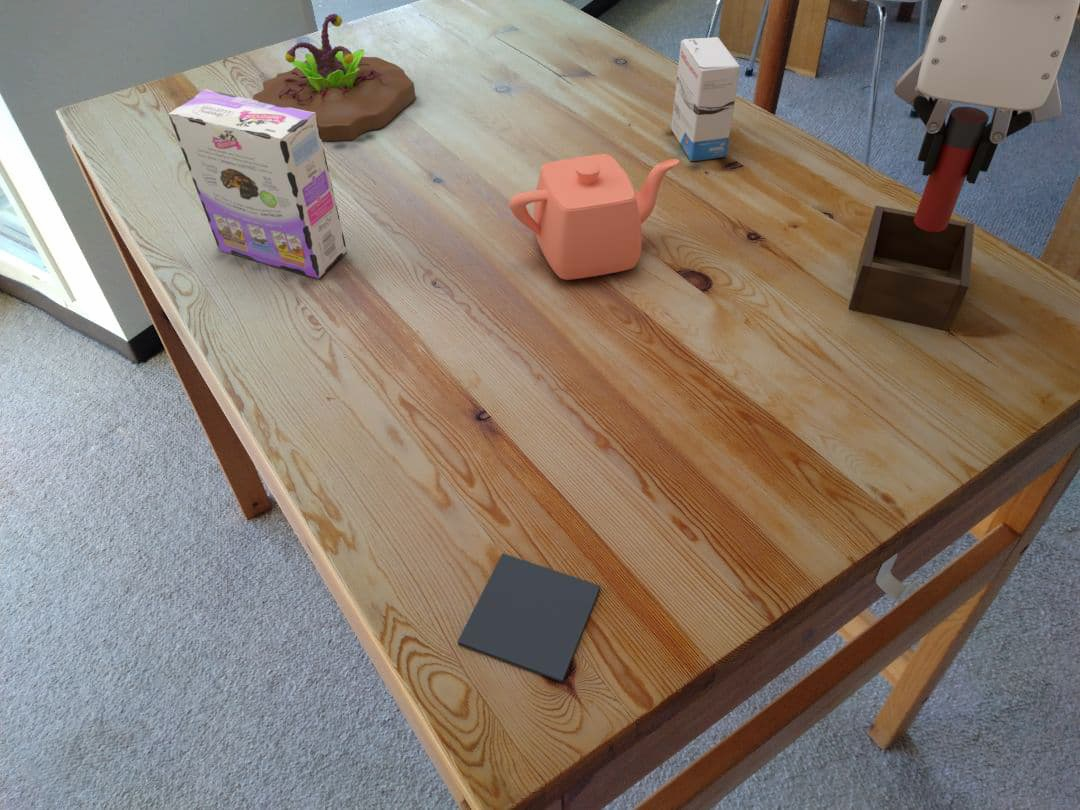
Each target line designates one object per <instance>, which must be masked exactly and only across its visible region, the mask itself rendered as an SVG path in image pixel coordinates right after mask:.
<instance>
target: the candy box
mask: <svg viewBox="0 0 1080 810" xmlns="http://www.w3.org/2000/svg"><path fill="white" fill-rule="evenodd" d="M168 118H169V119H170V122H171V123H170V124H172V128H173V131H174V132H175V137H176V138H177V140H178V141H177V142H178V144H179V146H180V149H181V151H182V154H183V157H184V160H185V162H186V165H187V168H188V171H189V173H190V176H191V179H192V182H193V185H194V187H195V189H196V192H197V195H198V198H199V200H200V203H201V205H202V208H203V210H204V213H205V216H206V218H207V222H208V224H209V227H210V230H211V232H212V235H213V237H214V238H213V239H214V241H215V244H216V247H217V249H218V250H219V251H221V252H223V253H227V254H230V255H234V256H239V257H241V258H244V259H247V260H251V261H256V262H259V263H262V264H265V265H269V266H273V267H277V268H280V269H283V270H287V271H289V272H290V271H291V272H295V273H298V274H301V275H304V276H307V277H312V278H315V279H320V278H321V277H322V276H323V275H324V274H325V273H326V272H327V271H328V270H329V269H330V268H331V267H332V266H334V264H335V263H337V262H338V261H339V260H340V259H341V258H342V257H343V256H344V255H345V254H346V253H347V251H348V249H347V244H346V241H345V237H344V236H345V235H344V232H343V226H342V223H341V219H340V215H339V210H338V205H337V201H336V197H335V192H334V188H333V184H332V179H331V174H330V170H329V165H328V162H327V156H326V152H325V148H324V143H323V140H322V139H321V135H320V130H319V126H318V122H317V117H316V113H315V112H309V111H304V110H299V109H294V108H289V107H284V106H280V105H275V104H270V103H266V102H261V101H256V100H253V98H248V97H247V98H246V97H244V96H243V97H242V96H238V95H232V94H228V93H223V92H220V91H215V90H211V89H207V88H204V89H203V90H202V91H200V92H199V93H198V94H195V95H194V96H193V97H191V98H190V99H187V101H185V102H184V103H182V104H180V105H179V106H178V107H176V108H174V109H173V110H171V111H170V112H168Z"/></svg>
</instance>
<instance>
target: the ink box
mask: <svg viewBox="0 0 1080 810" xmlns="http://www.w3.org/2000/svg"><path fill="white" fill-rule="evenodd" d="M677 66H678V67H677V75H676V84H675V93H674V101H673V109H672V118H671V119H672V120H671V128H670V129H671V131H672V133H673V135H674V137H675V138H676V140H677V141H678V143H679V145H680V146H681V149H683V152H684V153H685V155H686V156H687V158H688V159H689V161H690V162H696V161H705V160H713V159H720V158H726V157H727V155H728V148H729V142H730V135H731V128H732V122H733V115H734V111H735V110H734V109H735V102H736V96H737V90H738V84H739V77H740V72H741V71H740V70H741V65H740V64H739V63H738V61H737V59H735V58H734V57H733V55H732V54H731V53H730V51H729V50H728V49H727V47H726V46H725V44H724V43H723V42H722V40H721V39H720V37H719V36H716V37H715V36H714V37H698V38H697V37H696V38H684V39H682V40H680V46H679V55H678V65H677Z"/></svg>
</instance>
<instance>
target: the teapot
mask: <svg viewBox="0 0 1080 810" xmlns="http://www.w3.org/2000/svg"><path fill="white" fill-rule="evenodd" d="M679 163H680V160H679V159H677V158H671V159H667V160H664V161H661V162H659V163H657V164H656V165H655V166H654V167H653V168H651V171H650V172H649V173H648V176H647V177H646V179H645V182H644V183H643V185H642V187H641V188H640V189H639V190H638V192H635V189H634V186H633V184H632V182H631V180H630V178H629V176H628V174H627V173H626V172H625V170H624V169H623V167H622V166H621V165H620V164H619V163H618V161H617V160H616V159H615V158H614V157H612V156H611V155H610V154H608V153H604V154H603V153H602V154H592V155H585V156H577V157H572V158H565V159H564V158H563V159H559V160H553V161H549V162H545V163H544V164H542V166H541V168H540V171H539V176H538V180H537V184H536V185H537V186H536V189H535V190H528V191H522V192H519V193H517V194H514V195H513V196H512V197H511V198H510V200H509V209H510V211H511V213H512V214H513V216H514V217H515V218H516V219H517V220H518V221H519V222H520V223H521V224H522V225H524V226H525V227H526V228H527V229H529V230H530V231H532V232H533V233H535V235H536V240H537V243H538V245H539V248H540V250H541V252H542V255H543V256H544V258H545V260H546V262H547V263H548V265H549V267H550V268H551V270H552V271H553V272H554V273H555V275H557V277H559V278H560V279H562V280H565V281H567V280H569V281H571V280H579V279H585V278H593V277H599V276H603V275H611V274H613V273H618V272H619V273H620V272H624V271H628V270H631V269H634V268H635V267H636V266H637V263H638V262H639V260H640V258H641V255H642V247H643V246H642V243H643V235H642V234H643V233H642V224H643V223H645V221H646V220H648V218H649V217H650V216H651V214H652V212H653V211H654V209H655V206H656V203H657V198H658V195H659V191H660V187H661V183H662V181H663V179H664V177H665V176H666V175H667V173H668V172H669V171H671V170H672V169H673V168H674V167H675V166H677V165H678V164H679ZM532 203H533V217H532V215H531V214H530V212H529V211H528V209H527V205H530V204H532Z"/></svg>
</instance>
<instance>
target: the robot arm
mask: <svg viewBox="0 0 1080 810" xmlns="http://www.w3.org/2000/svg"><path fill="white" fill-rule="evenodd" d="M1079 8H1080V0H941V2H940V4H939V7H938V9H937V13H936V15H935V18H934V21H933V24H932V26H931V29H930V32H929V35H928V37H927V40H926V44H925V46H924V49H923V52H922V54H921V56H919V57H918V58H917V59H916V60H915V62H914V63H913V64H912V65H911V66H910V67H909V68H908V69H907V70H906V71H905V72H904V73H903V74H902V75H901V76H900V77H899V78H898V79H897V80H896V82H895V85H894V90H893V92H894V94H895V96H897V97H898V98H900V99H901V100H903V101H904V102H905V103H906V104H907V105H910V106H911V107H913V110H914V111H915V113H916V114H917V116H918V118H919V119H920V120H921V121H922V123H923V124H924V126H925V134H924V136H923V140H922V143H921V146H920V149H919V152H918V156H917V161H918V162H922V163H923V168H922V173H921V175H922V176H926V177H929V175H931V174H932V171H933V168H934V165H935V162H936V159H937V156H938V153H939V151H940V148H941V145H942V142H943V139H944V134H945V131H944V130H945V127H946V124H947V122H946V119H947V116H948V114H949V113H950V110H951V108H952V106H953V103H960V104H966V105H973V106H981V107H987V108H994V109H993V113H992V117H991V121H990V122H989V123H987V125H986V127H985V130H984V133H983V135H982V138H981V140H980V143H979V145H978V147H977V149H976V152H975V155H974V157H973V160H972V162H971V165H970V168H969V170H968V173H967V175H966V178H965V181H966V182H967V183H968V184H972V185H975V184H976V181H977V179H978V178H979V177H978V176H979V174H980V172H983V173H987V172H988V170H989V169H990V166H991V163H992V160H993V158H994V155H995V153H996V150H997V148H998V145H1000V144H1002V143H1004V141H1005V140H1006V138H1008V137H1010V136H1011V135H1014V134H1016V133H1017V132H1019V131H1021V130H1023V129H1025V128H1027V127H1028V126H1030V125H1031V124H1034V123H1035V124H1037V123H1042V122H1045V121H1050V120H1052V119H1056V118H1058V117H1060V116H1061V114H1062V101H1061V96H1060V90H1059V84H1058V77H1057V76H1058V73H1059V70H1060V68H1061V65H1062V62H1063V59H1064V57H1065V52H1066V50H1067V47H1068V45H1069V41H1070V38H1071V35H1072V32H1073V29H1074V25H1075V21H1076V17H1077V14H1078V11H1079Z"/></svg>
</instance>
